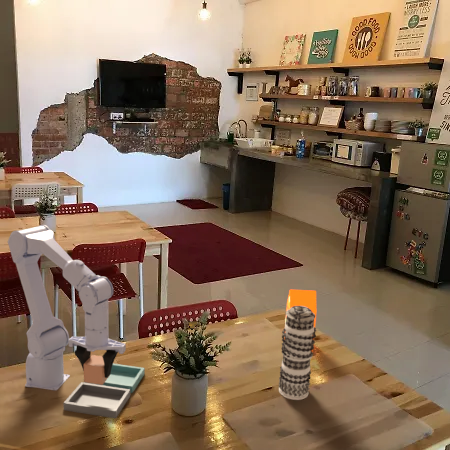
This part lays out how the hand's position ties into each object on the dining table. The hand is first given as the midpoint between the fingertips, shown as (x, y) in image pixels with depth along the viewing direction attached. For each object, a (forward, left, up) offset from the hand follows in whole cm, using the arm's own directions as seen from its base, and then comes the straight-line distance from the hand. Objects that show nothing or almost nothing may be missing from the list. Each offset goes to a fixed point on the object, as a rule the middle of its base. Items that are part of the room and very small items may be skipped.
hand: (97, 374), depth 129 cm
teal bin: (0, +11, -9) cm, 14 cm away
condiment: (+17, +28, -9) cm, 34 cm away
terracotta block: (0, 0, -1) cm, 1 cm away
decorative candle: (+50, +19, -9) cm, 54 cm away
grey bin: (0, 0, -9) cm, 9 cm away
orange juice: (+50, +47, -9) cm, 70 cm away
